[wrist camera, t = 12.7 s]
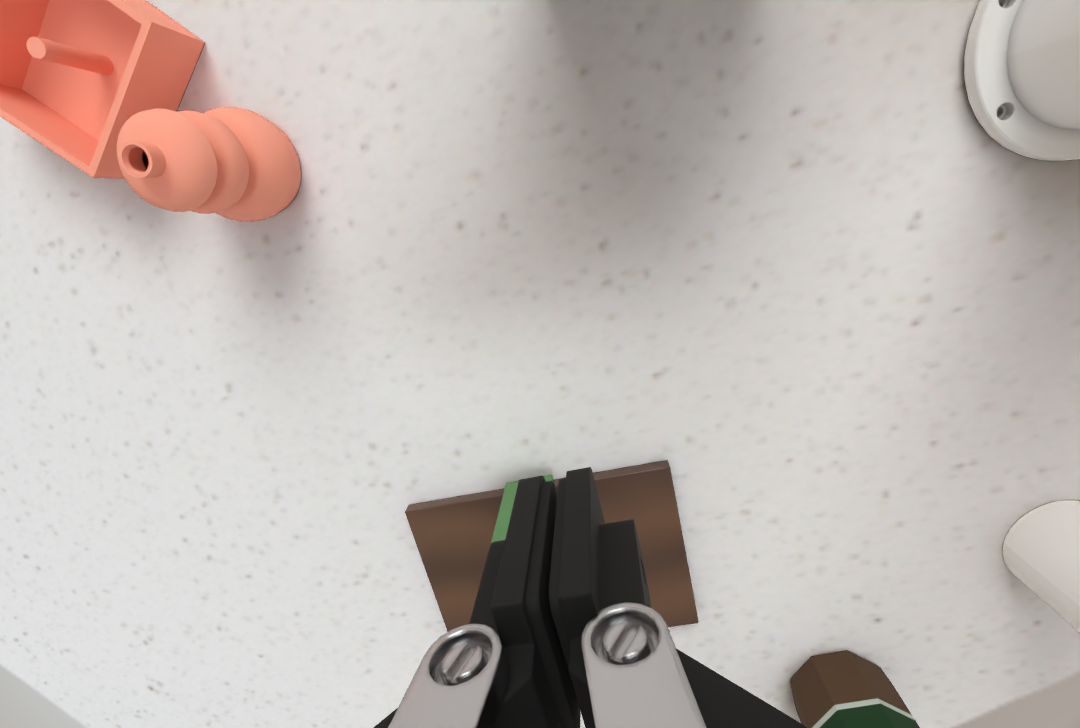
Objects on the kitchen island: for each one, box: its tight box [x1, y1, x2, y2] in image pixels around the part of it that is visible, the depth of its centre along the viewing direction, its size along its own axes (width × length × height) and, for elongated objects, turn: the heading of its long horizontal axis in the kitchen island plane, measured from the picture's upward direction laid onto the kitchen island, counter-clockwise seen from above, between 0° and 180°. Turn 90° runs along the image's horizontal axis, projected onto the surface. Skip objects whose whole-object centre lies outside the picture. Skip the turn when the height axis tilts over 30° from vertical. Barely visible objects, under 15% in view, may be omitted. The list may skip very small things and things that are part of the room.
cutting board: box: [405, 460, 698, 632], centre depth 42 cm, size 14×20×1 cm
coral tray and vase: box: [0, 0, 301, 222], centre depth 29 cm, size 18×10×10 cm, turn 55°
